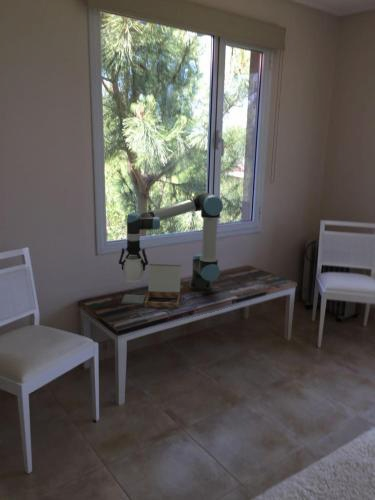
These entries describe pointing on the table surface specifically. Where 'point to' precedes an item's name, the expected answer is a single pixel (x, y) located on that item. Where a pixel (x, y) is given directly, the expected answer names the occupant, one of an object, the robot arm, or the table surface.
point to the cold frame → (162, 304)
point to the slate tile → (133, 299)
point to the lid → (164, 278)
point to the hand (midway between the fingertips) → (133, 275)
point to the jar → (133, 269)
